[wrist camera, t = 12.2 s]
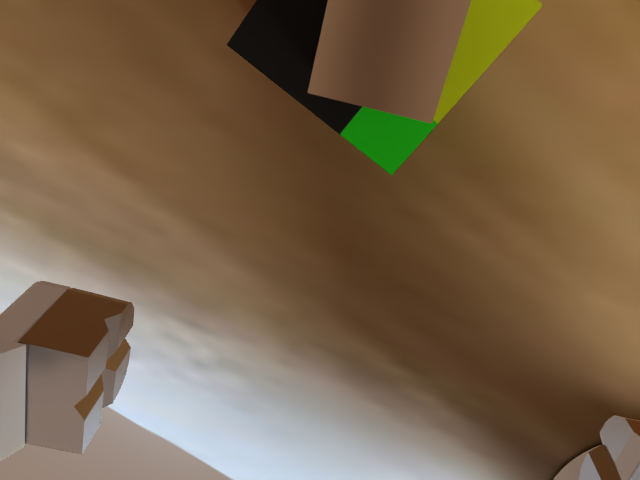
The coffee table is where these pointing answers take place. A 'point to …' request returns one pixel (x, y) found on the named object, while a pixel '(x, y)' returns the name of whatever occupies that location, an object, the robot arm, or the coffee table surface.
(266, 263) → the coffee table surface
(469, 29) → the puzzle toy
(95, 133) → the coffee table surface
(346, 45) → the walnut block
